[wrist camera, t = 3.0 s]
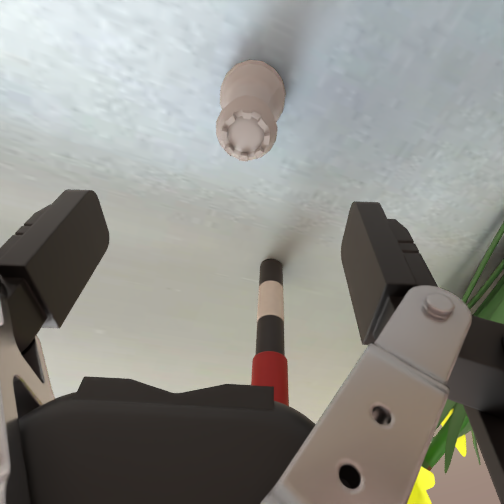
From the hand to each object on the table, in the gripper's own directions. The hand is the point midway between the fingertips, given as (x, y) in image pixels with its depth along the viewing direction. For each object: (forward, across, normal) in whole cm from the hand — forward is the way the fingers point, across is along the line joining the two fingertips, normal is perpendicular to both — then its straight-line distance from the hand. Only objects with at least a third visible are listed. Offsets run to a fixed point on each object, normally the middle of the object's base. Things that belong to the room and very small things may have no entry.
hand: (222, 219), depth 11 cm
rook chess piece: (+16, 0, 0) cm, 16 cm away
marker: (+16, -2, +16) cm, 23 cm away
